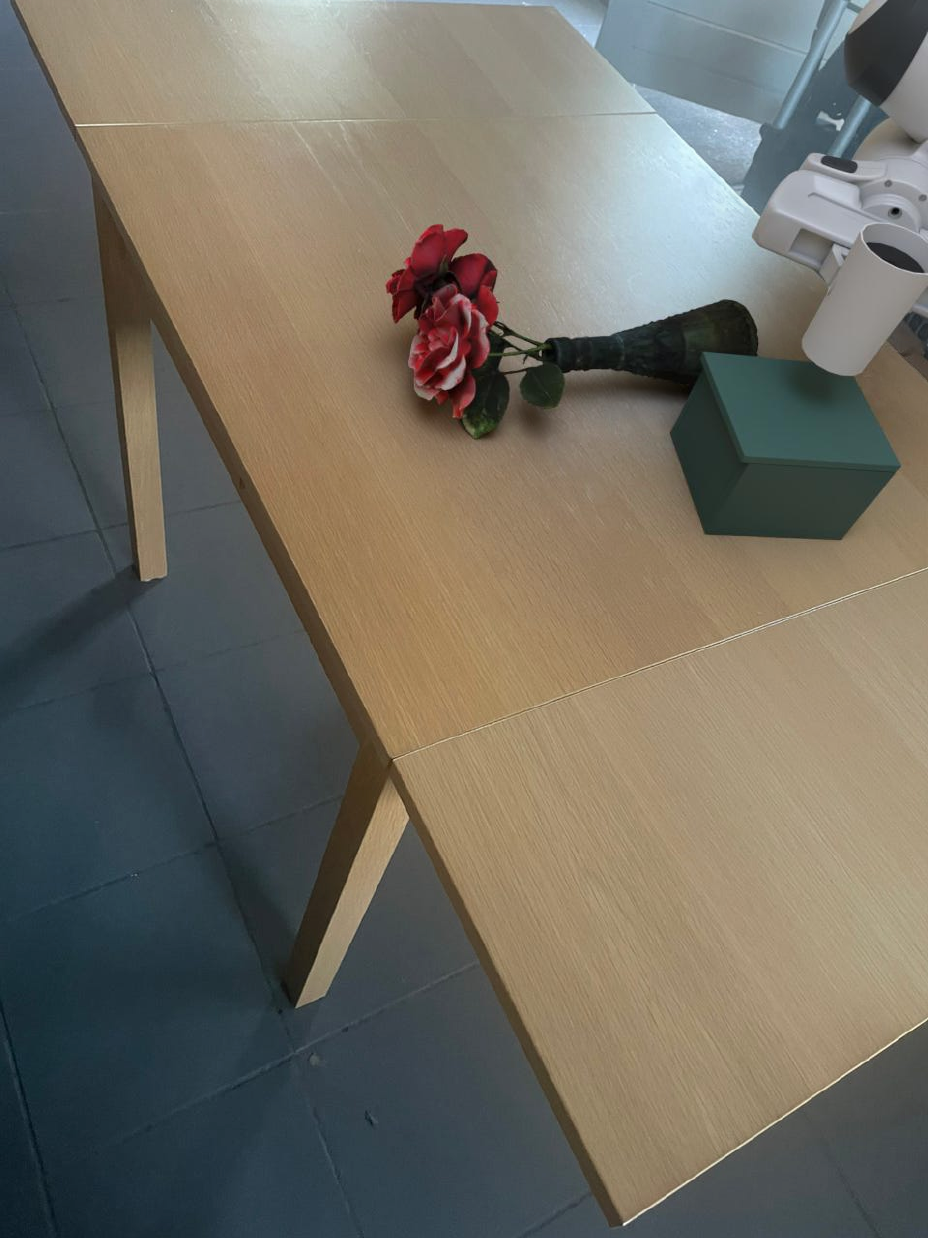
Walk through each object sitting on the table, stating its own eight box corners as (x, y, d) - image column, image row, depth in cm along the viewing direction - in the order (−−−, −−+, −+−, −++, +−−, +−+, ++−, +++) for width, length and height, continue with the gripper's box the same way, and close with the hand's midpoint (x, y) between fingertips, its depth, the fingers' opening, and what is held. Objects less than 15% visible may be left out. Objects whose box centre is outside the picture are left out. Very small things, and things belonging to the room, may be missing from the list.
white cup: (879, 385, 77) (954, 281, 69) (806, 372, 75) (873, 265, 67) (859, 334, 80) (927, 230, 72) (789, 321, 79) (850, 215, 71)
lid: (740, 462, 75) (745, 455, 75) (699, 358, 83) (702, 351, 82) (896, 472, 79) (902, 465, 78) (843, 371, 86) (848, 364, 85)
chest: (704, 534, 83) (749, 463, 76) (669, 432, 90) (707, 359, 83) (841, 540, 86) (896, 472, 79) (796, 441, 93) (843, 371, 86)
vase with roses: (671, 426, 103) (377, 452, 88) (658, 254, 100) (353, 252, 86) (773, 408, 89) (443, 435, 74) (761, 208, 86) (417, 196, 72)
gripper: (971, 300, 83) (961, 384, 75) (761, 211, 85) (728, 283, 76) (1018, 236, 78) (1013, 319, 70) (794, 143, 80) (763, 213, 71)
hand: (862, 300), depth 73 cm, fingers closed on white cup, 2 cm apart
